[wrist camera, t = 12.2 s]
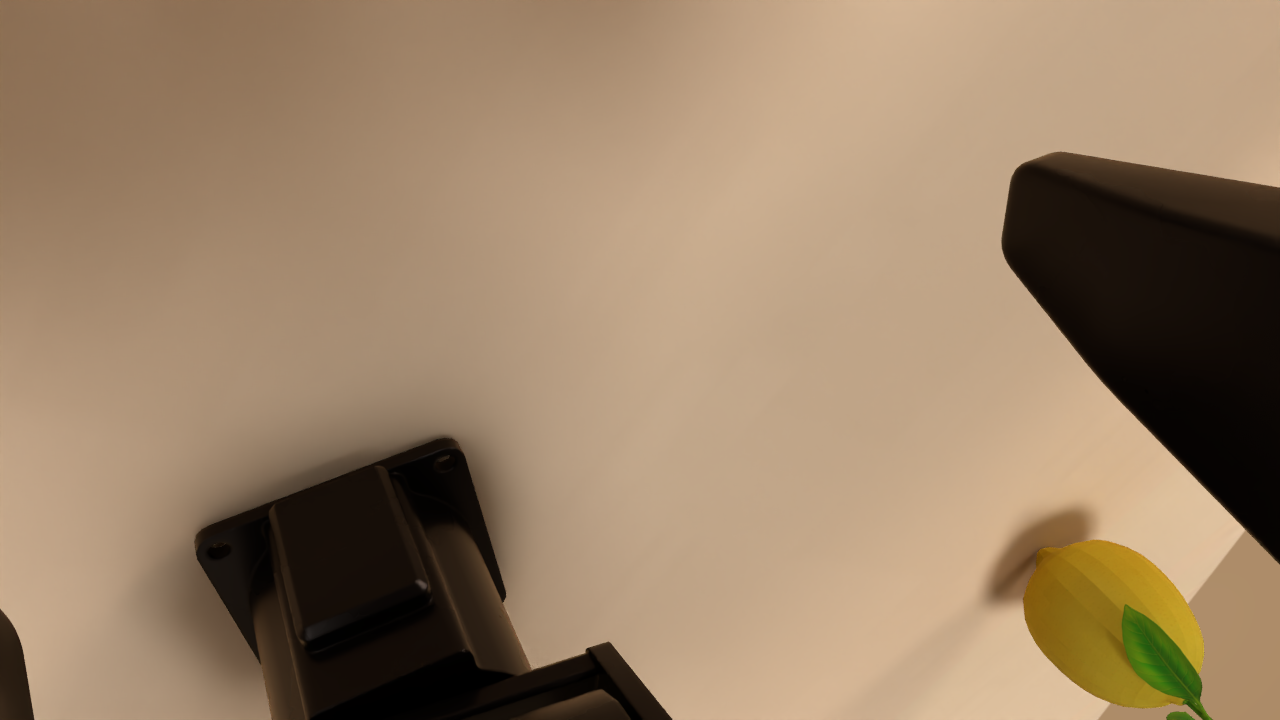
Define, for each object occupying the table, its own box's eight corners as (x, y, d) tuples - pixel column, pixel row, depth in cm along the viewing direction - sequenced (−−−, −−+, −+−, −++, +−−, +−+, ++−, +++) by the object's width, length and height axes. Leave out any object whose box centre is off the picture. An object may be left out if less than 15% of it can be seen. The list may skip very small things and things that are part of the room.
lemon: (1064, 591, 46) (1253, 781, 39) (964, 624, 43) (1146, 833, 36) (1122, 479, 42) (1344, 666, 35) (1016, 508, 40) (1231, 716, 32)
